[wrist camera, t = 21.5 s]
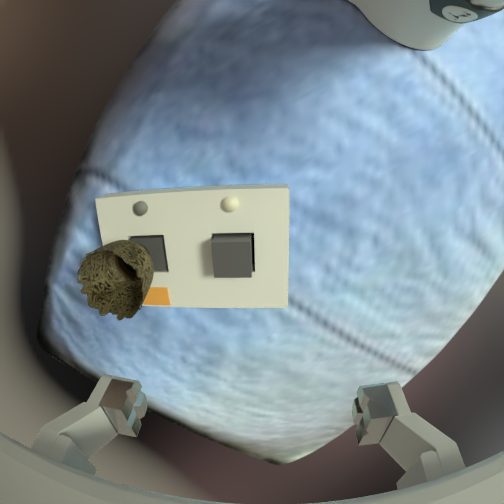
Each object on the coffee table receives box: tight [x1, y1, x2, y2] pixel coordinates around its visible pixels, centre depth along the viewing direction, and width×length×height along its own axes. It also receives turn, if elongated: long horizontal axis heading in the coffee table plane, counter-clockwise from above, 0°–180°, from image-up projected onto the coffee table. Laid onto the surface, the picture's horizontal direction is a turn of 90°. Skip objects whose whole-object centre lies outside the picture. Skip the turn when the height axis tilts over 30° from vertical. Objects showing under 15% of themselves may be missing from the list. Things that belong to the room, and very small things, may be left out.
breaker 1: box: [130, 235, 168, 271], centre depth 35 cm, size 4×4×3 cm
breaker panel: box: [95, 184, 289, 308], centre depth 34 cm, size 14×22×3 cm, turn 92°
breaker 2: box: [211, 233, 253, 278], centre depth 33 cm, size 4×4×3 cm
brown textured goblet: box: [77, 240, 154, 320], centre depth 30 cm, size 8×7×8 cm
